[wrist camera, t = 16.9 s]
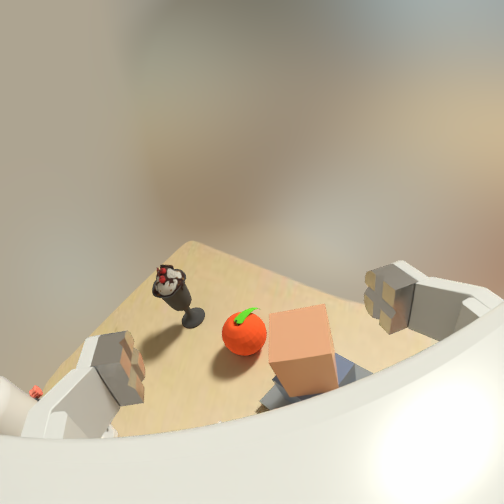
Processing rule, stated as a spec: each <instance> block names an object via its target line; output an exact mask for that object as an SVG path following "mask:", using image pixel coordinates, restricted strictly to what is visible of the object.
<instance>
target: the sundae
mask: <svg viewBox="0 0 504 504" xmlns="http://www.w3.org/2000/svg"><path fill="white" fill-rule="evenodd" d="M185 279H186V275H185V273H184V272H183V271H182V270H179V269H174V268H173V266H172V265H160V270H159V268H157V276H156V281H155V282H154V284H153V288H152V293H153V295H154V296H155V297H159V298H162V299H163V300H164V301H165V302H166V303H167V304H168V305H169V306H171V307H172V308H173V309H175V310H177V311H183V310H184V311H185V312H186V313H185V315H184V316H183V318H182V324H183V326H184V327H186V328H194V327H196V326H198V325H199V324H200V323H201V322H202V321H203V319H204V317H205V312H204V310H203V309H201V308H192V309H190V307H189V306H190V303H191V300H192V299H191V296H190V293H189V291H188V289H187V287H186V284H185V282H184V281H185Z"/></svg>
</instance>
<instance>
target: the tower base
mask: <svg viewBox="0 0 504 504" xmlns="http://www.w3.org/2000/svg"><path fill="white" fill-rule="evenodd" d="M335 359H336V367H337V376H338V385H339V388H340V387H342V386H345V385H347V384H350V383H352V382H355V381H357V380H360V379H362V378H365V377H367V376H370V375H372V374H373V373H371V372H369V371H368V370H366V369H364V368H362V367H360V366H358V365H356V364H355V363H353V362H351V361H349V360H347V359H346V358H344V357H342V356H340V355H338V354H336V353H335ZM272 380H273V382H274V383H275V385H274V386H273V387H272V388H271V390H270V391H269V392H268V393H267V394H266V395H265V396H264V397H263V398H262V399H261V400H260V402H261V403H262V405H264V406H265V407H266V408H268V409H269V410H273V409H277V408H280V407H284V406H287V405H290V404H293V403H297V402H300V401H303V400H306V399H309V398H312V397H315V396H318V395H321V394H323V393H319V394H312V395H304V396H296V397H289V395H288V393H287V392H286V390H285V389H284V387H283V385H282V384H281V382H280V381H279V379H278V377H277V376H275V377H274V378H273V379H272ZM325 393H326V392H325Z"/></svg>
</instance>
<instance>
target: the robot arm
mask: <svg viewBox="0 0 504 504" xmlns="http://www.w3.org/2000/svg"><path fill="white" fill-rule="evenodd" d="M365 283H366V285H367V286H368V288H367V290H366V291H365V293H364V303H365V307H366V309H367V311H368V313H369V314H370V315H371V316H372V317H373V318H376V319H379V325H380V326H381V327H382V328H383V329H384V330H385V331H386V332H387V333H388V334H389V335H390V334H393V333H395V332H398V331H400V330H403V329H405V328H407V327H408V328H409V329H411V330H414V331H416V332H418V333H421V334H423V335H426V336H428V337H430V338H433V339H435V340H438V341H439V342H438V343H436V344H434V345H432V346H430V347H428V348H427V349H425V350H423V351H421V352H419V353H417V354H415V355H413V356H411V357H409V358H407V359H405V360H403V361H401V362H399V363H396V364H394V365H392V366H390V367H388V368H386V369H383V370H381V371H379V372H377V373H374V374H372V375H370V376H367V377H365V378H362V379H360V380H357V381H355V382H352V383H350V384H347V385H345V386H342V387H340V388H337V389H334V390H332V391H329V392H326V393H323V394H321V395H318V396H315V397H312V398H309V399H306V400H303V401H300V402H297V403H293V404H290V405H287V406H284V407H280V408H277V409H273V410H270V411H266V412H263V413H259V414H255V415H251V416H247V417H243V418H239V419H235V420H230V421H226V422H221V423H217V424H212V425H207V426H201V427H196V428H190V429H184V430H178V431H171V432H164V433H156V434H148V435H139V436H128V437H118V432H117V430H116V429H115V428H114V427H113V426H112V425H111V424H110V423H111V421H112V420H113V418H114V417H115V415H116V414H117V412H118V411H119V409H120V406H126V405H133V404H139V403H144V386H143V384H142V381H143V380H144V378H145V367H144V362H143V359H142V356H141V354H140V352H139V350H137V349H135V348H134V339H133V337H132V335H131V333H130V332H129V331H122V332H116V333H110V334H103V335H97V336H92V337H88V338H86V340H85V343H84V346H83V349H82V352H81V355H80V358H79V361H78V364H77V367H76V369H72V370H71V371H70V372H69V373H68V374H67V375H66V376H65V377H63V378H62V379H61V380H60V381H59V382H58V383H57V384H56V385H55V386H54V387H53V388H52V389H51V390H50V391H49V392H48V393H47V394H46V395H45V396H44V397H42V398H41V399H38V398H39V397H40V396H42V395H43V392H42V390H41V389H40V388H39V387H38V386H34V387H33V388H32V390H30V391H29V394H30V395H28V394H27V393H25V392H24V391H22V390H21V389H20V388H18V387H17V386H16V385H14V384H13V383H12V382H10V381H9V380H8V379H6V378H5V377H3V376H0V504H504V300H503V299H501V298H500V297H499V296H497V295H496V294H494V293H493V292H491V291H490V290H488V289H487V288H485V287H480V286H475V285H470V284H465V283H460V282H455V281H451V280H445V279H440V278H436V277H430V278H428V277H427V276H425V275H424V274H423V273H421V272H420V271H418V270H417V269H415V268H414V267H412V266H411V265H409V264H408V263H406V262H405V261H401V260H400V261H397V262H394V263H391V264H389V265H386V266H383V267H380V268H377V269H374V270H371V271H368V272H367V273H366V276H365Z"/></svg>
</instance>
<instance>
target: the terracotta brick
mask: <svg viewBox="0 0 504 504" xmlns="http://www.w3.org/2000/svg"><path fill="white" fill-rule="evenodd" d="M269 364H270V366H271V368H272V369H273V371H274V372H275V374H276V376H277V377H278V379H279V381H280V382H281V384H282V385H283V387H284V389H285V390H286V392H287V393H288V395H289V397H296V396H304V395H312V394H319V393H325V392H329V391H332V390H334V389H337V388H339V385H338V376H337V367H336V359H335V351H334V345H333V340H332V335H331V330H330V326H329V321H328V316H327V312H326V307H325V304H321V305H316V306H310V307H305V308H300V309H294V310H289V311H283V312H277V313H271V314H269Z"/></svg>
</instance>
